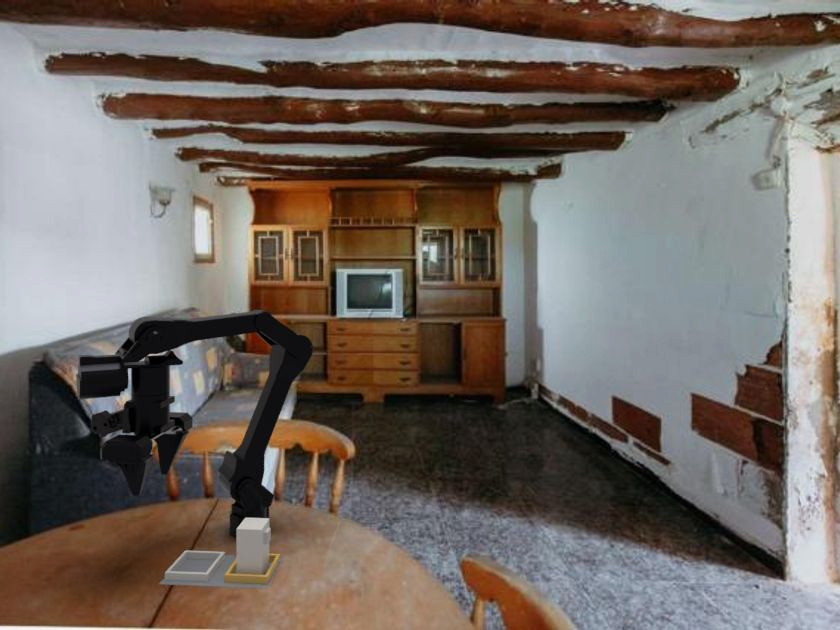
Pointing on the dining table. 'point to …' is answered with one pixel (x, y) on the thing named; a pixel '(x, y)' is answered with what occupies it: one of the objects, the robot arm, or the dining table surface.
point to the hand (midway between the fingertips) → (151, 484)
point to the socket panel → (217, 571)
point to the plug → (253, 546)
